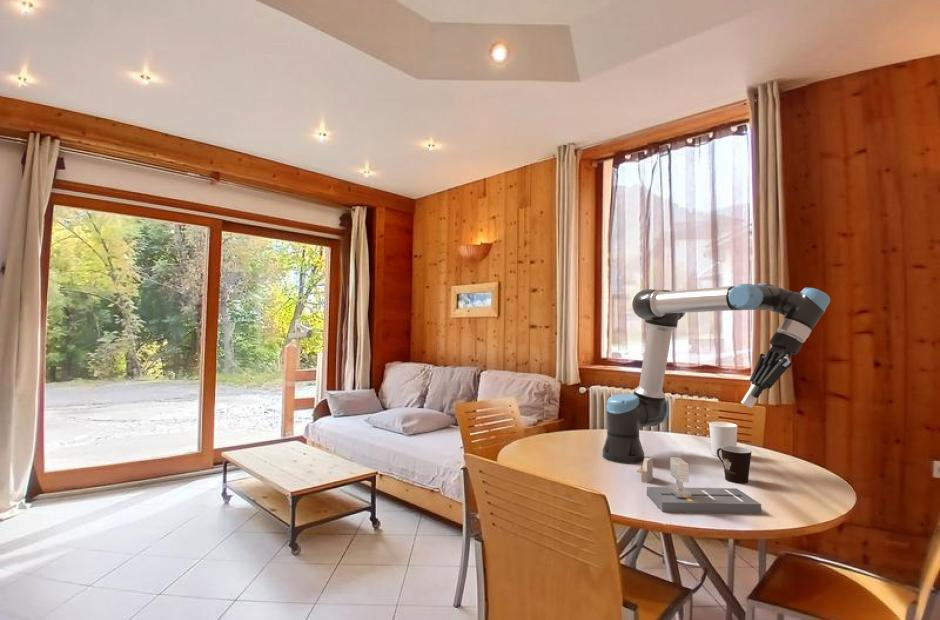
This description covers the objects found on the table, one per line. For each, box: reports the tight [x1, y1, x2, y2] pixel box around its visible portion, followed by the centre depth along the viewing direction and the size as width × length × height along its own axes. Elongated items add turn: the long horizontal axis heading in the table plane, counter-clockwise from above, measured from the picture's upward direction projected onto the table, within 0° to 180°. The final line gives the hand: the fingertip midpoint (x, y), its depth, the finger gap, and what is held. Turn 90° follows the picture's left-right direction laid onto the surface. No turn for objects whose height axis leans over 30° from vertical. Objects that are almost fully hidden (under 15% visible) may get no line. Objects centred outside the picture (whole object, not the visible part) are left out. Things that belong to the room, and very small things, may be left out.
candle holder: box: [708, 421, 739, 459], centre depth 179 cm, size 10×10×12 cm
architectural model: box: [636, 456, 654, 484], centre depth 150 cm, size 3×7×7 cm, turn 143°
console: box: [646, 486, 762, 515], centre depth 129 cm, size 26×12×3 cm, turn 88°
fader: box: [667, 456, 692, 498], centre depth 130 cm, size 4×6×9 cm, turn 178°
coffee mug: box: [717, 446, 753, 485], centre depth 151 cm, size 12×9×10 cm
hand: (745, 405), depth 137 cm, fingers closed
